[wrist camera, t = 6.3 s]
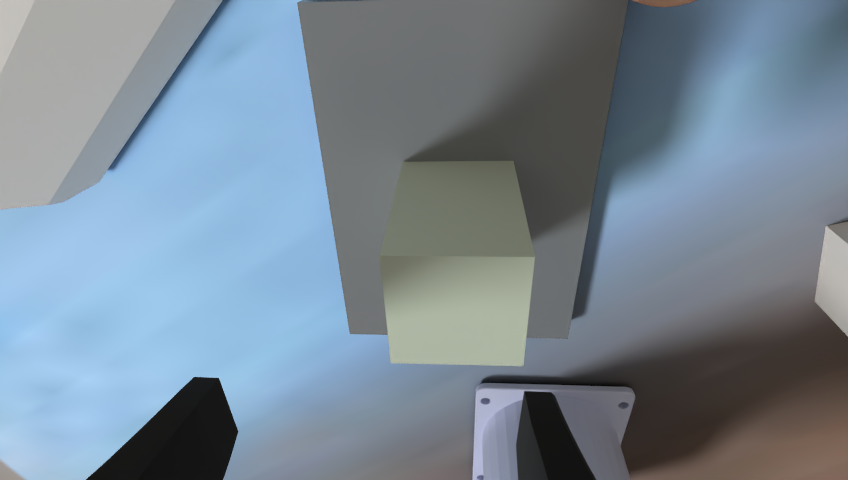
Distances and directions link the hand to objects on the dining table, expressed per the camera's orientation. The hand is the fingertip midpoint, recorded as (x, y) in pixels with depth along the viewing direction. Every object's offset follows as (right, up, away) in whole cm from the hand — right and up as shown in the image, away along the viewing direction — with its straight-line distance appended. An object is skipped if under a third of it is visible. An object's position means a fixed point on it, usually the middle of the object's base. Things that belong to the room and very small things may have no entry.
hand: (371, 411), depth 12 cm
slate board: (+3, +6, +8) cm, 10 cm away
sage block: (+2, +5, +7) cm, 9 cm away
